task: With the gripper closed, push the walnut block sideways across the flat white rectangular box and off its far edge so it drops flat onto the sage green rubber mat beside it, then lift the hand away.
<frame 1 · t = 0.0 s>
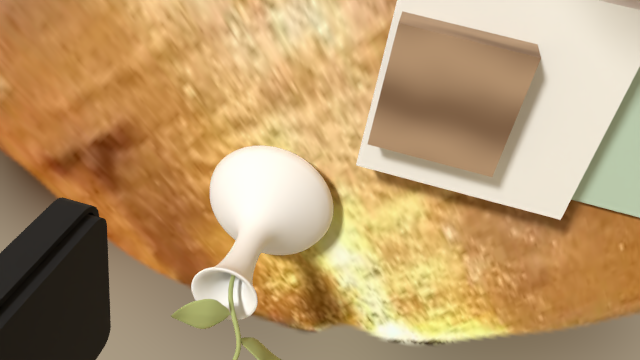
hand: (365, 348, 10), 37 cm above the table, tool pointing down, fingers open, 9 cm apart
flat white rectangular box: (490, 77, 45), on the table
walnut block: (449, 89, 42), point 4 cm above the table, touching flat white rectangular box
flower in vase: (282, 196, 55), on the table
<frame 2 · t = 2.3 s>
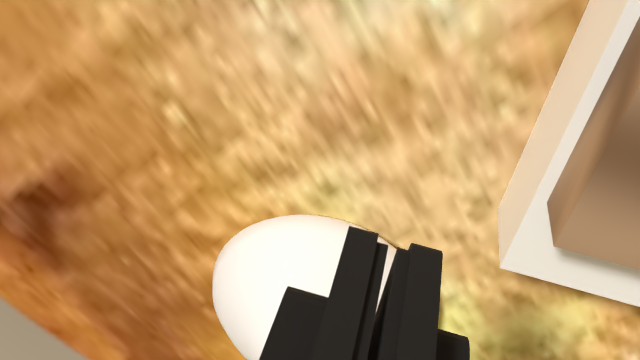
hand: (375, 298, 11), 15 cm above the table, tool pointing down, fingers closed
flower in vase: (336, 291, 32), on the table
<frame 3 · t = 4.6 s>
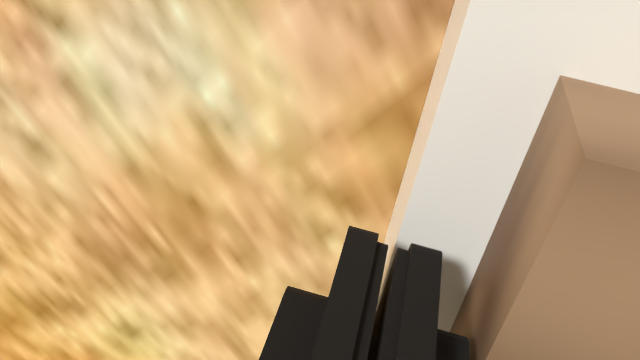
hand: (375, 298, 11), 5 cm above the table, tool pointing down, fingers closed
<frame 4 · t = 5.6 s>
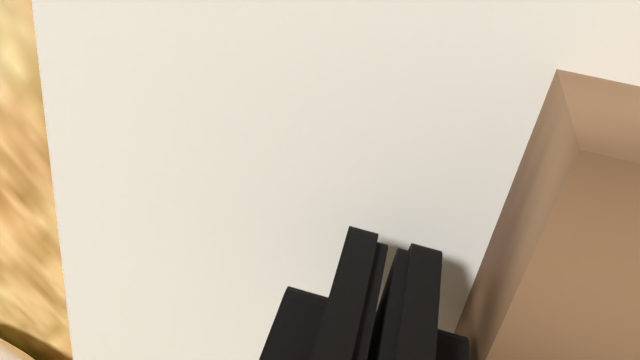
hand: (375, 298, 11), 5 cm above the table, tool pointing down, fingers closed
flat white rectangular box: (445, 166, 15), on the table
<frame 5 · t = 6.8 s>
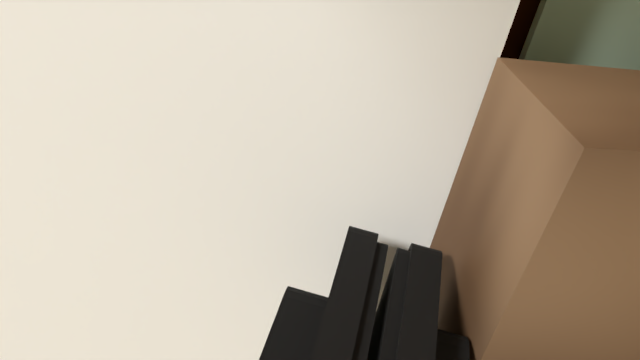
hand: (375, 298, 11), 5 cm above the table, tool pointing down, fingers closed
flat white rectangular box: (130, 88, 15), on the table
walnut block: (620, 273, 13), point 2 cm above the table, tilted 22°, touching gripper
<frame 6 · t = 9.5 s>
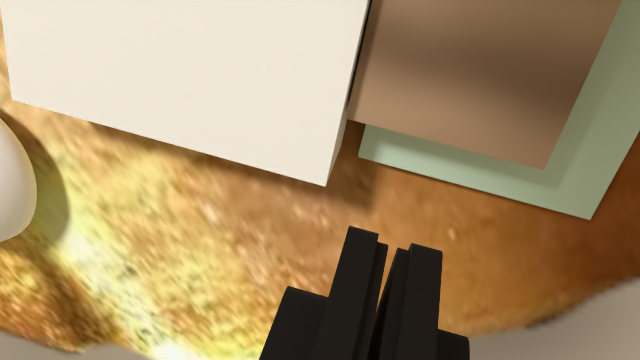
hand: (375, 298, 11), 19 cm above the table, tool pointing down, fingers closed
green mat: (529, 34, 26), on the table
walnut block: (475, 30, 26), point 1 cm above the table, touching green mat
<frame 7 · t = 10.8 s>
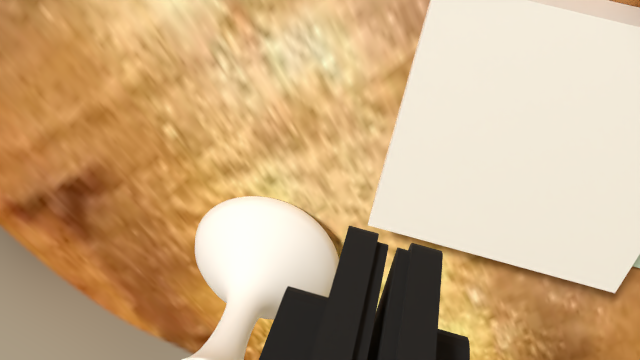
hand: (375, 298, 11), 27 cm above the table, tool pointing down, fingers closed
flat white rectangular box: (530, 122, 37), on the table
flower in vase: (279, 250, 47), on the table
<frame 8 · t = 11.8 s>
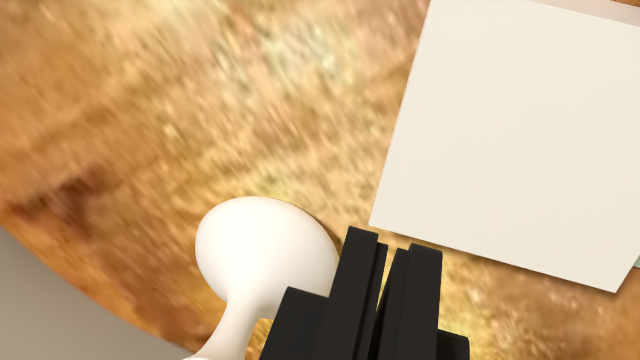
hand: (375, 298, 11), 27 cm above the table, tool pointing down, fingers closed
flat white rectangular box: (531, 122, 37), on the table
flower in vase: (280, 250, 47), on the table
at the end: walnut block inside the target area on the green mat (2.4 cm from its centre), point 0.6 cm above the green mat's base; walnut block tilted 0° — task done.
